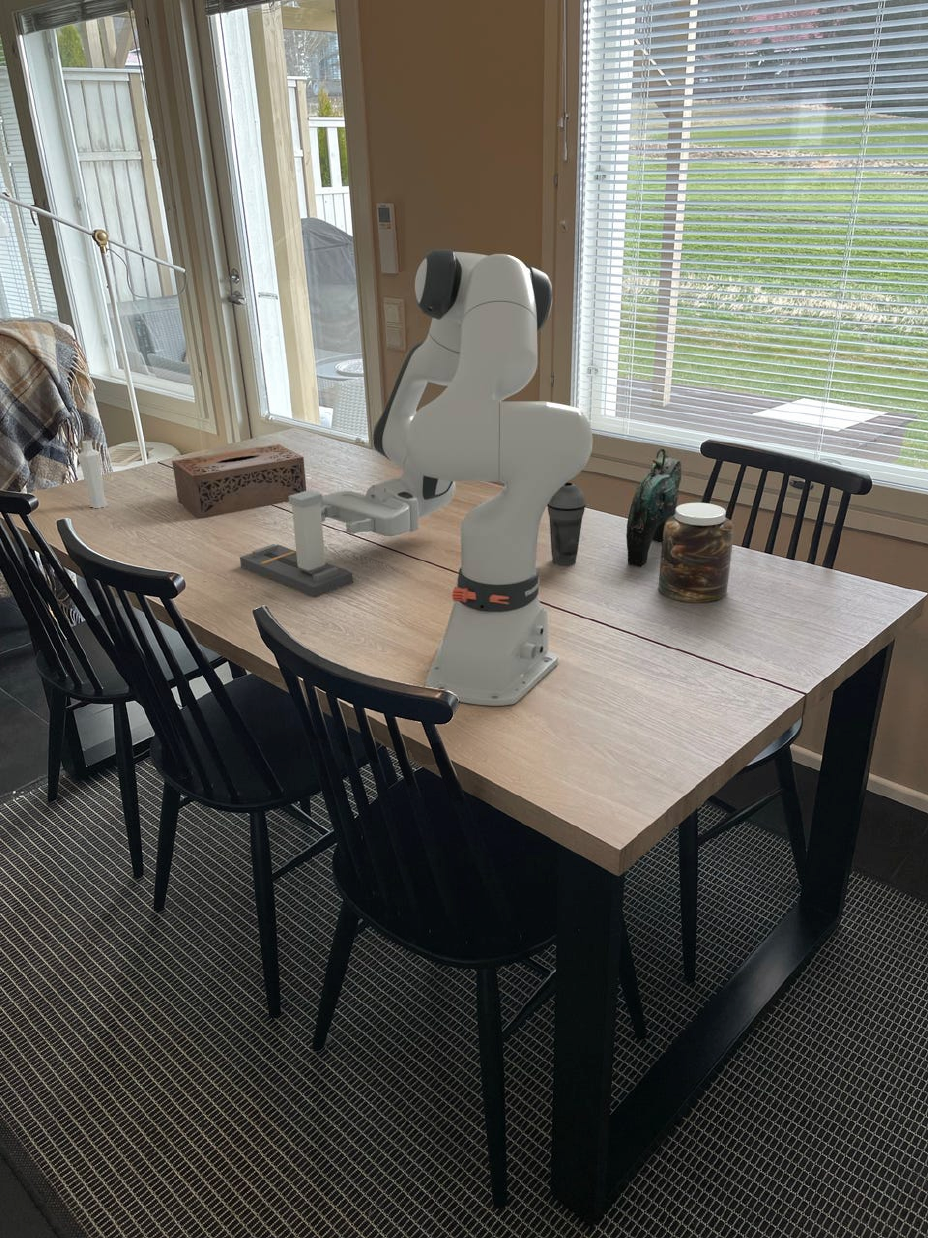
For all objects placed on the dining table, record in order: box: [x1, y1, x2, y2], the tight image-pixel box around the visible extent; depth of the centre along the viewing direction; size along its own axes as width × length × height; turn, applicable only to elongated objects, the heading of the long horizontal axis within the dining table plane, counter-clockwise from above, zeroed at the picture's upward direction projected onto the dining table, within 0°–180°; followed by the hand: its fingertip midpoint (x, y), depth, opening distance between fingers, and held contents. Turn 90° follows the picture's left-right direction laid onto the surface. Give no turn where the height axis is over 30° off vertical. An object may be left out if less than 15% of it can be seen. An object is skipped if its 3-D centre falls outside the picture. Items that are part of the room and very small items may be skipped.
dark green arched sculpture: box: [626, 448, 682, 568], centre depth 179 cm, size 20×6×20 cm, turn 150°
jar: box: [658, 502, 735, 604], centre depth 162 cm, size 12×12×15 cm
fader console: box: [239, 543, 354, 598], centre depth 173 cm, size 22×9×3 cm, turn 48°
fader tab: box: [288, 489, 326, 575], centre depth 167 cm, size 4×5×14 cm
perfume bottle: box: [77, 439, 108, 509], centre depth 209 cm, size 5×4×15 cm
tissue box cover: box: [171, 443, 307, 520], centre depth 213 cm, size 26×14×10 cm, turn 123°
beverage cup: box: [546, 481, 586, 567], centre depth 174 cm, size 7×7×20 cm
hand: (331, 523), depth 170 cm, fingers open, 8 cm apart
